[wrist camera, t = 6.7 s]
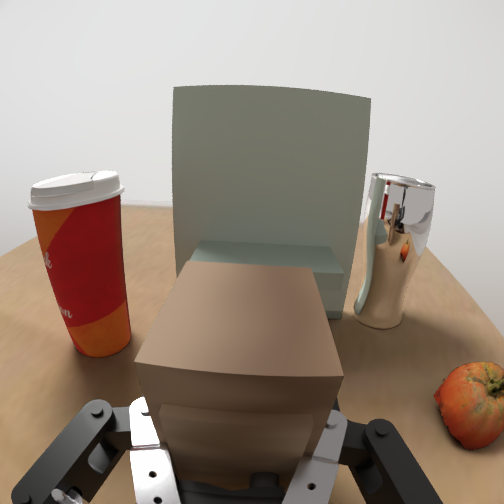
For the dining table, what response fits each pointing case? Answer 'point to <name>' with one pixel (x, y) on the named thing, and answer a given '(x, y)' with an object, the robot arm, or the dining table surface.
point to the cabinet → (240, 372)
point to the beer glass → (391, 246)
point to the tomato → (473, 403)
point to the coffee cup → (85, 257)
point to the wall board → (270, 179)
